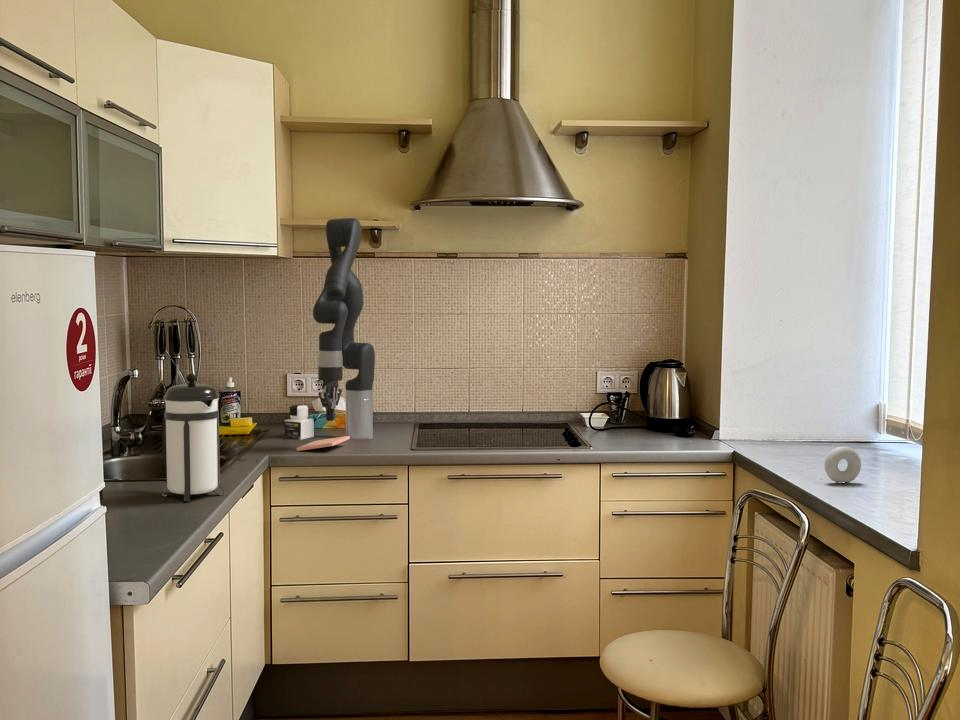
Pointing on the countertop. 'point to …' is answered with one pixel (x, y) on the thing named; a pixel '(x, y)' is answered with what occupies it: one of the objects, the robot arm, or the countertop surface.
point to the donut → (852, 466)
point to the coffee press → (191, 439)
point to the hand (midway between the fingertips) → (330, 420)
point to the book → (323, 443)
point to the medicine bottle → (299, 423)
